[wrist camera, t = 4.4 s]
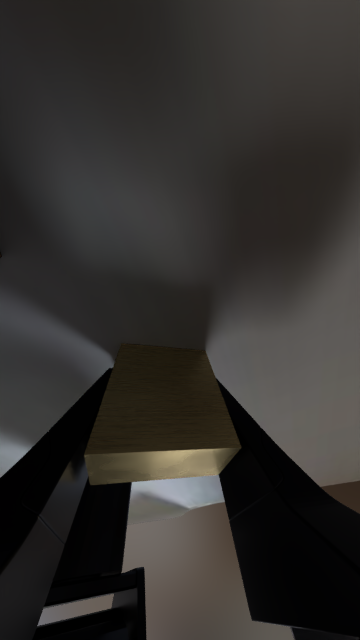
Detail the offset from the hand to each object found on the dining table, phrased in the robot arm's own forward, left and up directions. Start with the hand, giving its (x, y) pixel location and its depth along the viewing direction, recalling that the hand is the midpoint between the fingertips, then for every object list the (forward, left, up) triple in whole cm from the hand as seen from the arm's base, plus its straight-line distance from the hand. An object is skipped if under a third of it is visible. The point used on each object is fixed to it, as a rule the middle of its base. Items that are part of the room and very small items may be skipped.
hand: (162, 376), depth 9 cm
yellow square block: (0, 0, -1) cm, 1 cm away
